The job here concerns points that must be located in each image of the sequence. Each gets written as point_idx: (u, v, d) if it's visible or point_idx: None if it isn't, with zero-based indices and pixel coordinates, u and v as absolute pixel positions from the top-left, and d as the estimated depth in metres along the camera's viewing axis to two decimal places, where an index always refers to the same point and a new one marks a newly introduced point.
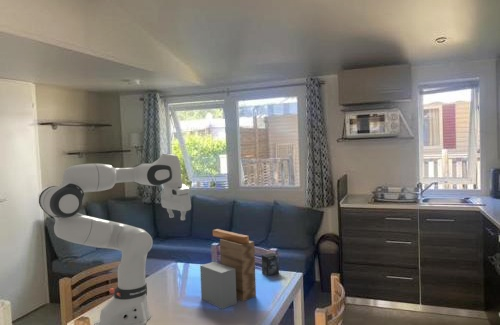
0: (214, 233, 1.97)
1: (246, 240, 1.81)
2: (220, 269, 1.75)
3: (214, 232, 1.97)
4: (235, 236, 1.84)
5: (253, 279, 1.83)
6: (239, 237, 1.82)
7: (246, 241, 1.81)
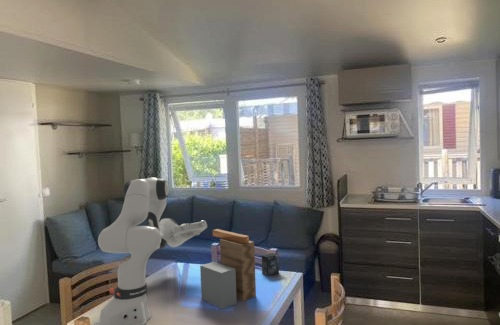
0: (214, 233, 1.97)
1: (246, 240, 1.81)
2: (220, 269, 1.75)
3: (214, 232, 1.97)
4: (235, 236, 1.84)
5: (253, 279, 1.83)
6: (239, 237, 1.82)
7: (246, 241, 1.81)
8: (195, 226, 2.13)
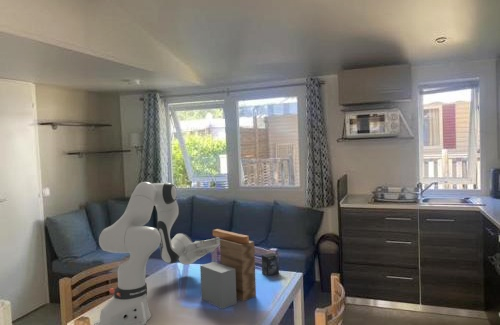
0: (214, 233, 1.97)
1: (246, 240, 1.81)
2: (220, 269, 1.75)
3: (214, 232, 1.97)
4: (235, 236, 1.84)
5: (253, 279, 1.83)
6: (239, 237, 1.82)
7: (246, 241, 1.81)
8: (209, 243, 2.07)
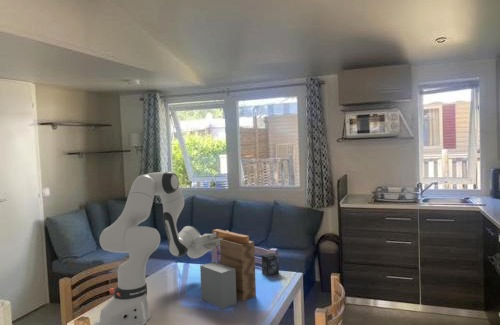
0: None
1: (246, 240, 1.81)
2: (220, 269, 1.75)
3: None
4: (235, 236, 1.84)
5: (253, 279, 1.83)
6: (239, 237, 1.82)
7: (246, 241, 1.81)
8: None
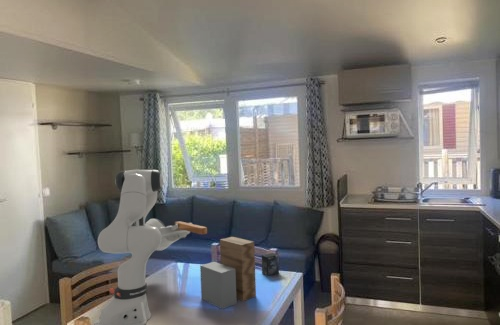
0: None
1: (204, 231, 1.85)
2: (220, 269, 1.75)
3: None
4: (194, 227, 1.88)
5: (253, 279, 1.83)
6: (197, 228, 1.86)
7: (204, 232, 1.85)
8: None
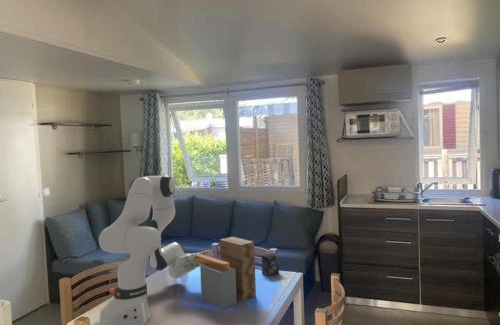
0: (195, 258, 1.89)
1: (226, 267, 1.74)
2: None
3: (195, 257, 1.89)
4: (215, 262, 1.77)
5: (253, 279, 1.83)
6: (219, 264, 1.75)
7: (226, 268, 1.74)
8: None
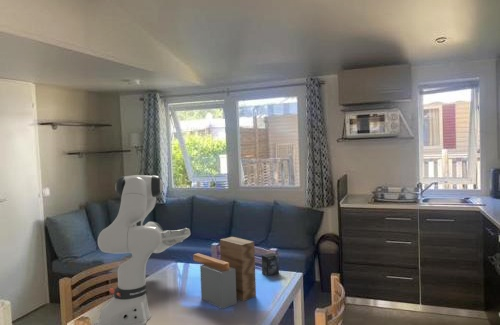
0: (195, 258, 1.89)
1: (226, 267, 1.74)
2: None
3: (195, 257, 1.89)
4: (215, 262, 1.77)
5: (253, 279, 1.83)
6: (219, 264, 1.75)
7: (226, 268, 1.74)
8: (178, 233, 2.07)
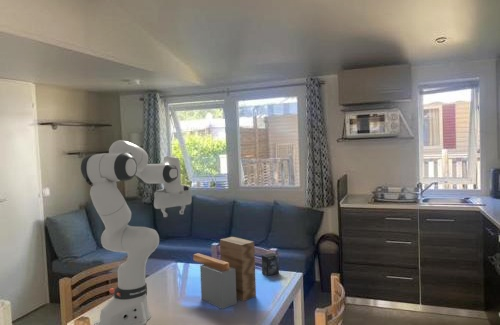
0: (195, 258, 1.89)
1: (226, 267, 1.74)
2: None
3: (195, 257, 1.89)
4: (215, 262, 1.77)
5: (253, 279, 1.83)
6: (219, 264, 1.75)
7: (226, 268, 1.74)
8: None
